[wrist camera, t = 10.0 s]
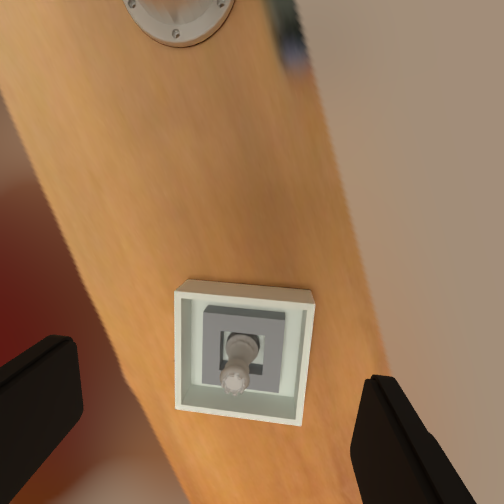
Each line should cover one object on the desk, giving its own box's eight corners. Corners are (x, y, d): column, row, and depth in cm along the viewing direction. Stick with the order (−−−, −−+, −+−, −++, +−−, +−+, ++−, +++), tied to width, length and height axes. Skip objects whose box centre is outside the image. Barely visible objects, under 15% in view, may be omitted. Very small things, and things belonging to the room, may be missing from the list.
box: (187, 279, 34) (174, 291, 30) (310, 290, 33) (315, 304, 28) (187, 384, 38) (175, 409, 33) (298, 398, 36) (301, 426, 32)
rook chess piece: (267, 345, 34) (263, 389, 26) (241, 363, 35) (231, 411, 27) (245, 320, 34) (234, 358, 26) (220, 339, 35) (202, 381, 27)
